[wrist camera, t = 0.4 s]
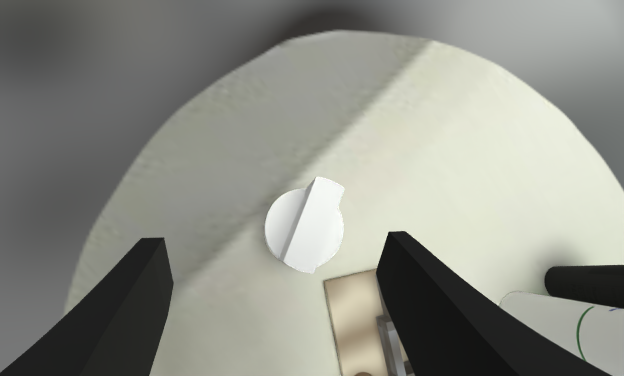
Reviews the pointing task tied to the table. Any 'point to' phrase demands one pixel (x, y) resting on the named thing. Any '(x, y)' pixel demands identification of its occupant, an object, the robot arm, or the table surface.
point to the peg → (363, 374)
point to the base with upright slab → (306, 225)
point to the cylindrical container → (574, 327)
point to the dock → (364, 327)
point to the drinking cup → (588, 284)
